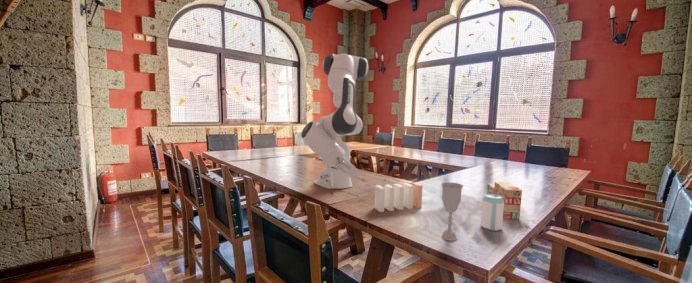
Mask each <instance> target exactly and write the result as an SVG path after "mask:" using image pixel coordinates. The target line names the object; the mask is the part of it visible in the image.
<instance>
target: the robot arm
mask: <svg viewBox="0 0 692 283" xmlns="http://www.w3.org/2000/svg"><path fill="white" fill-rule="evenodd" d="M322 69H323V72H324V74H325V75H327V86H328V88H329V90H330V91H331V92H332V94H333V95H332V96H333V97H332V104H333V106H334V107H335V108H336V110H335V111H334V112H332V113H330V114H329V115H324V116H321V117H320V118H319V119H318V120H315V121H313V120H312V121H310V122H308V123H307V124H306V125H305V126H304V127H303V129H302V131H301V134H300V136H301V139H302V141H303V142H304V143H305V144H306V146H307V147H308V148H309V149H310V150H311V151H312V152H313V153H315V154H316V155H318V157H319V158H320V160H321V161H322V162H323V163H324V164H325V165H326V167H325V168H323V169H322V170H321V171H320V172H319V173H318V179H317V180H315V181H313V184H315V185H318V186H320V187H322V188H325V189H328V190H329V189H330V190H331V189H337V190H338V189H340V190H341V189H348V188H351V187H353V183H352V179H353V180H354V181H355V182H358V181H359V179H360V177H359V175H360V174H361V172H360V170H359V169H358V168H356V166H354V165H353V163H351V147H350V145H349V144H348V143H347V142H345V141H343V139H342V136H353V135H358V134H360V133H361V132H362V129H363V126H364V125H363V120H362V118H361V117H360V116H358V114H357V112H356V103H357V102H356V100H357V99H356V96H357V89H356V88H357V86H356V80H357V82H358V81H361V80H363V79H365V78H366V76H367V75H368V72H369V63H368V60H367V58H365V57H362V56H356V55H351V54H347V53H339V54H334V53H329V54H327V55H326V56H325V57H324V59H323V61H322Z"/></svg>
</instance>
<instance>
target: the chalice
mask: <svg viewBox="0 0 692 283" xmlns="http://www.w3.org/2000/svg"><path fill="white" fill-rule="evenodd" d="M441 187H442V192H441V194H442V195H441V199H442V204H443V207H444V208H445V211H446V212H447V213H448V217H447V219H448V221H447V223H446V224H447V226H448V227H447V229H445V230H444V231H443V232H442V234H441V236H440V237H441V238H442V239H443V240H445V241H449V242H450V241H451V242H453V241H457V240H458V238H457V235H456V231H455V230H454V229H452V225H453V224H454V223H453V222H452V221H453V219H454V218H453V213H455V212H457V210H458V207H459V205H460V203H461V200H462V190H463V187H464V185H463V184H461V183H458V182H442V183H441Z"/></svg>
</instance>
